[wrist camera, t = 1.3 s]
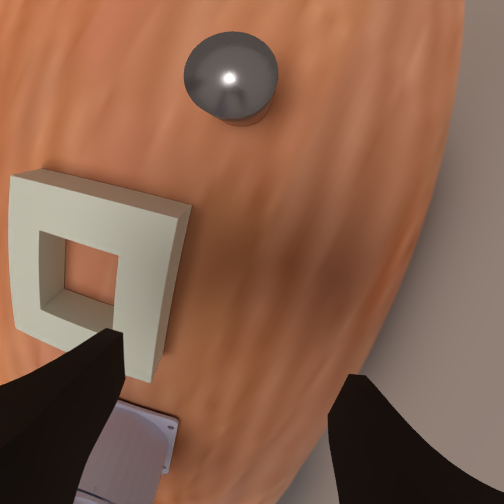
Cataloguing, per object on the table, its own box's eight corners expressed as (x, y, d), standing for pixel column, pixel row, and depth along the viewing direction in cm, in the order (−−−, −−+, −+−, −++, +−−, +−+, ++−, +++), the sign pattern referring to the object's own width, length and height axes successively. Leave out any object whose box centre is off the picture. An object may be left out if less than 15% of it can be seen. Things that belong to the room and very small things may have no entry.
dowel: (262, 133, 15) (263, 127, 9) (204, 119, 15) (172, 106, 9) (278, 78, 14) (288, 44, 9) (220, 64, 14) (199, 24, 8)
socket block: (162, 353, 20) (150, 383, 17) (38, 307, 19) (15, 328, 16) (192, 205, 16) (178, 218, 14) (41, 168, 16) (10, 175, 13)
